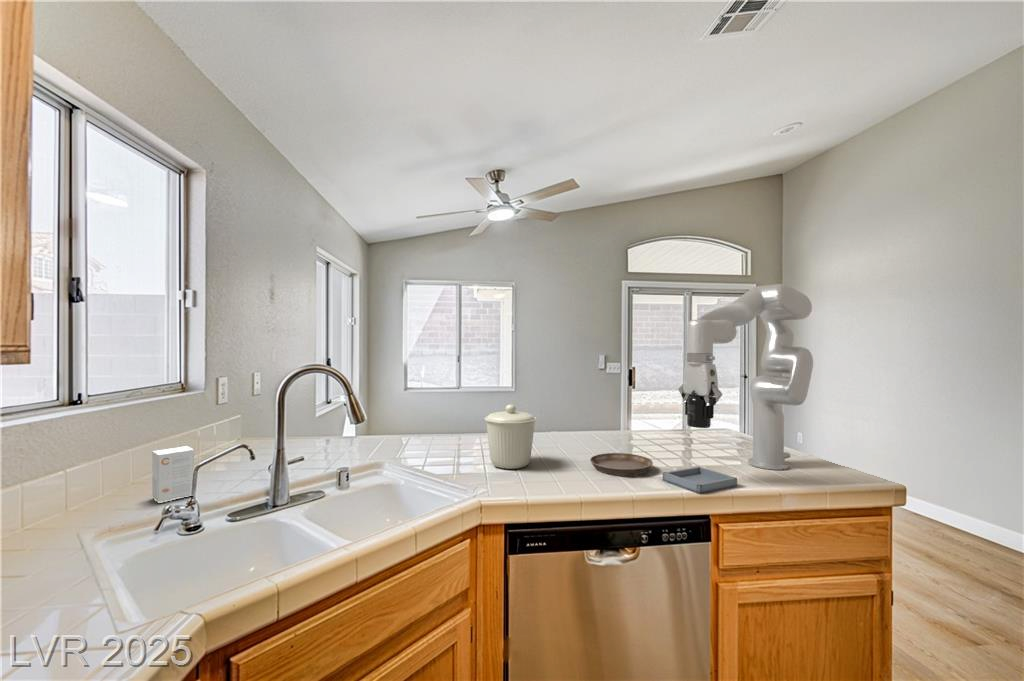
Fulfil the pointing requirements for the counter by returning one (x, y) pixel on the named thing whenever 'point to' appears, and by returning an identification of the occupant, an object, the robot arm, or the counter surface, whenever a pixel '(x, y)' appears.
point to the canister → (510, 437)
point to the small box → (172, 473)
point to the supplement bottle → (697, 412)
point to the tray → (699, 479)
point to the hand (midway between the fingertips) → (698, 416)
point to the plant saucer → (621, 463)
